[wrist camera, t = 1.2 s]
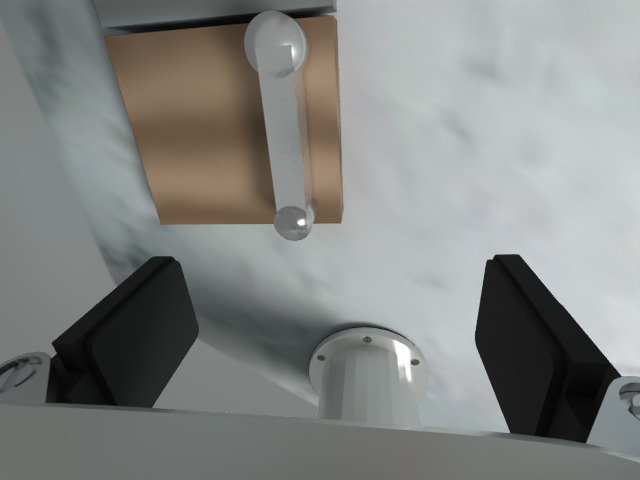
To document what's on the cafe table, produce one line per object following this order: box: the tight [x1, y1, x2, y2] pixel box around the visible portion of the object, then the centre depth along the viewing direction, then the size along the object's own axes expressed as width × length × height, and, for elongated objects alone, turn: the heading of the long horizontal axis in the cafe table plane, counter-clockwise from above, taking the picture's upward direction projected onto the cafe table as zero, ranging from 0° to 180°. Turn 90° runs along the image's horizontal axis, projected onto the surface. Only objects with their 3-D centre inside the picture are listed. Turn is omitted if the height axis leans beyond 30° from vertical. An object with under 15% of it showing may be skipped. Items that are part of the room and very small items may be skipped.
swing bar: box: [244, 11, 317, 241], centre depth 22 cm, size 13×3×3 cm, turn 4°
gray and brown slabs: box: [93, 0, 343, 225], centre depth 21 cm, size 28×15×5 cm, turn 4°
